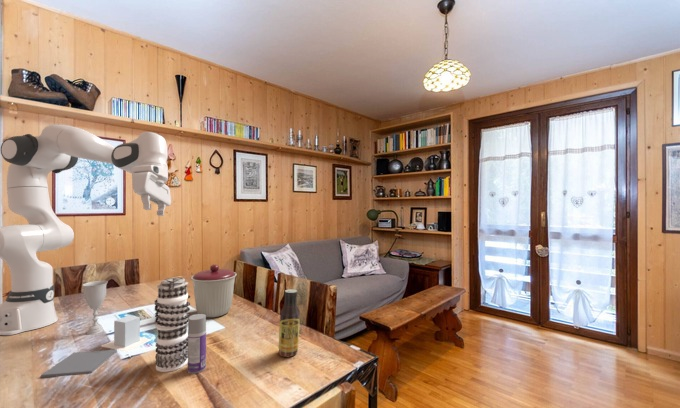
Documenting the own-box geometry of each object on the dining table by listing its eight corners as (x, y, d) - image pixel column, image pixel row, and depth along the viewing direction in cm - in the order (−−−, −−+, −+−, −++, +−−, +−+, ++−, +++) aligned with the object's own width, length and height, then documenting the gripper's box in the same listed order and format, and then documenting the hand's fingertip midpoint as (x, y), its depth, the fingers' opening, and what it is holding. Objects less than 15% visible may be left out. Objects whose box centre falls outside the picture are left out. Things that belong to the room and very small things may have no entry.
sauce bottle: (279, 359, 89) (279, 294, 89) (277, 349, 95) (278, 288, 95) (300, 356, 91) (301, 292, 91) (298, 347, 97) (298, 287, 97)
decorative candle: (157, 359, 89) (158, 276, 89) (191, 353, 92) (192, 274, 92) (150, 375, 80) (150, 284, 80) (187, 369, 83) (188, 281, 83)
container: (201, 362, 87) (201, 312, 87) (208, 368, 84) (209, 316, 84) (184, 369, 83) (185, 317, 83) (192, 375, 80) (192, 321, 80)
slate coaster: (41, 377, 79) (41, 374, 79) (73, 355, 91) (73, 352, 91) (91, 373, 81) (91, 370, 81) (116, 352, 93) (116, 349, 93)
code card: (100, 346, 96) (100, 346, 96) (127, 335, 105) (127, 334, 105) (126, 352, 92) (126, 351, 92) (152, 339, 101) (152, 339, 101)
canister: (180, 319, 119) (181, 268, 119) (208, 304, 136) (208, 259, 136) (221, 323, 115) (221, 270, 115) (244, 307, 133) (244, 261, 133)
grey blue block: (114, 344, 97) (114, 320, 97) (128, 338, 102) (129, 315, 102) (125, 347, 95) (125, 322, 95) (139, 340, 100) (139, 317, 100)
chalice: (92, 337, 102) (92, 286, 102) (76, 335, 104) (77, 285, 104) (112, 329, 110) (112, 281, 110) (97, 327, 111) (98, 280, 111)
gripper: (157, 185, 113) (158, 219, 110) (128, 165, 94) (127, 206, 90) (175, 183, 114) (176, 217, 111) (149, 163, 95) (149, 204, 92)
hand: (154, 212), depth 101 cm, fingers open, 8 cm apart
